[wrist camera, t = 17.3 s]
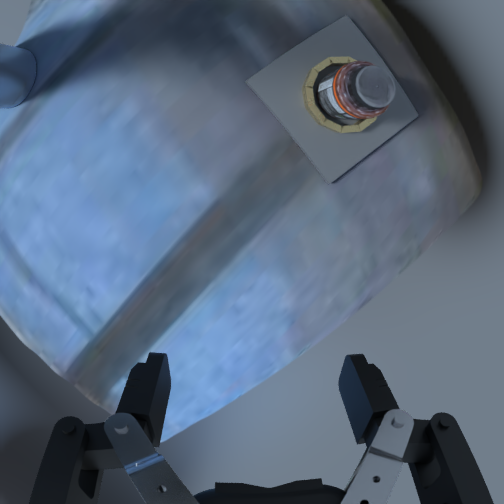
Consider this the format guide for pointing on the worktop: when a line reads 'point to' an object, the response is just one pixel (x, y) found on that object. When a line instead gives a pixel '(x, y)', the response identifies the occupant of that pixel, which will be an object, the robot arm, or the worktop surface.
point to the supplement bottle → (356, 91)
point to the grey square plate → (298, 118)
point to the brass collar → (314, 110)
